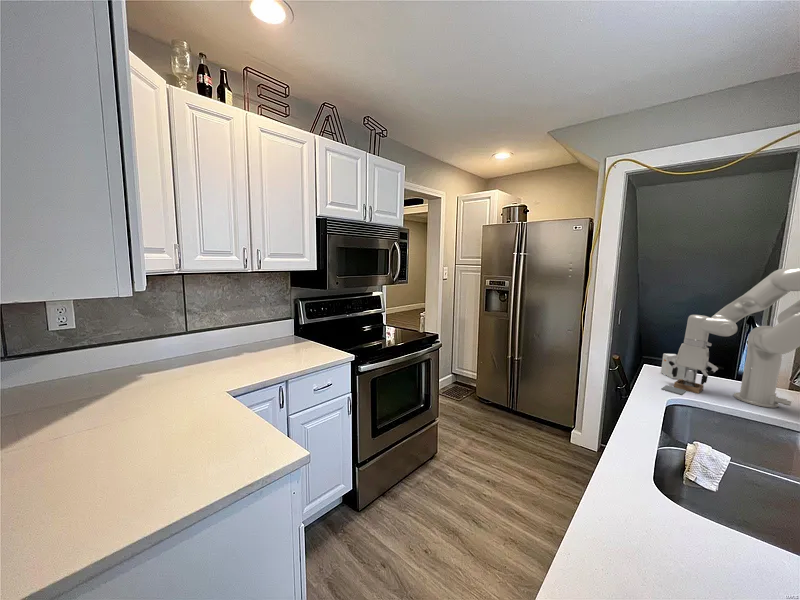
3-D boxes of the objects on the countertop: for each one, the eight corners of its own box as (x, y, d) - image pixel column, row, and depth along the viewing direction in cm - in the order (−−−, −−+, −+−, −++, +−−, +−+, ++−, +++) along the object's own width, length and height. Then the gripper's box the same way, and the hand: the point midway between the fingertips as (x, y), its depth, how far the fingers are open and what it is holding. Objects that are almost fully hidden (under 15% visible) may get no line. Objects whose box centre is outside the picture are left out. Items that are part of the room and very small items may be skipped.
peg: (695, 389, 146) (698, 369, 145) (692, 390, 144) (696, 371, 143) (683, 386, 149) (686, 367, 148) (681, 387, 147) (684, 368, 146)
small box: (684, 379, 158) (687, 358, 157) (672, 379, 158) (676, 358, 157) (671, 373, 166) (674, 353, 165) (660, 373, 166) (663, 353, 165)
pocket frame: (702, 389, 146) (703, 384, 146) (698, 393, 141) (699, 388, 141) (678, 383, 153) (679, 378, 152) (673, 387, 147) (674, 382, 147)
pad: (686, 391, 143) (686, 390, 143) (681, 395, 138) (681, 393, 138) (666, 386, 148) (666, 385, 148) (661, 389, 144) (661, 388, 144)
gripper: (723, 346, 139) (716, 385, 142) (672, 337, 153) (666, 372, 155) (720, 349, 135) (712, 388, 137) (668, 339, 149) (661, 375, 151)
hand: (688, 380), depth 146 cm, fingers open, 9 cm apart
